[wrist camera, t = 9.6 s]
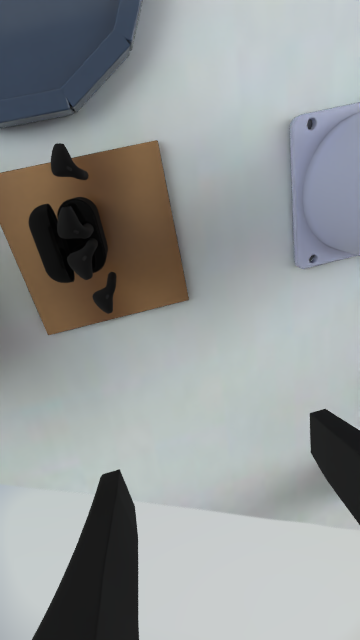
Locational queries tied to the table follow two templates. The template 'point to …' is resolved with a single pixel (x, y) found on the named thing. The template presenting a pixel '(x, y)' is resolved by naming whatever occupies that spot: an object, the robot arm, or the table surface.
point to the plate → (59, 54)
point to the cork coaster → (119, 228)
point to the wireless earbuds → (72, 235)
